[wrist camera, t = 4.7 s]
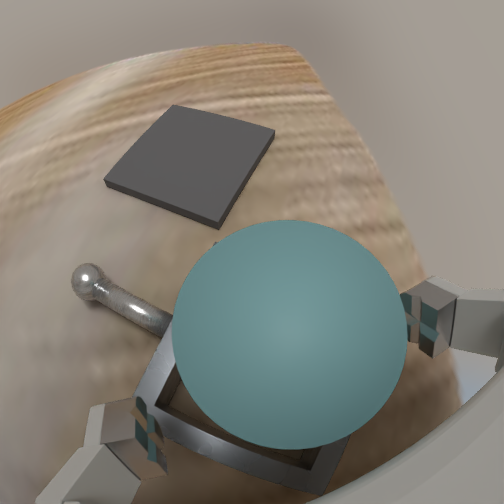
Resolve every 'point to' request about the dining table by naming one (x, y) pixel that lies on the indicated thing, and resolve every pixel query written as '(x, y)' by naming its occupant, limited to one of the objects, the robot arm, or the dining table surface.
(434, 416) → the dining table surface
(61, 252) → the dining table surface
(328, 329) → the teal peg
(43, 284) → the dining table surface
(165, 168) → the rubber mat
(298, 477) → the socket
